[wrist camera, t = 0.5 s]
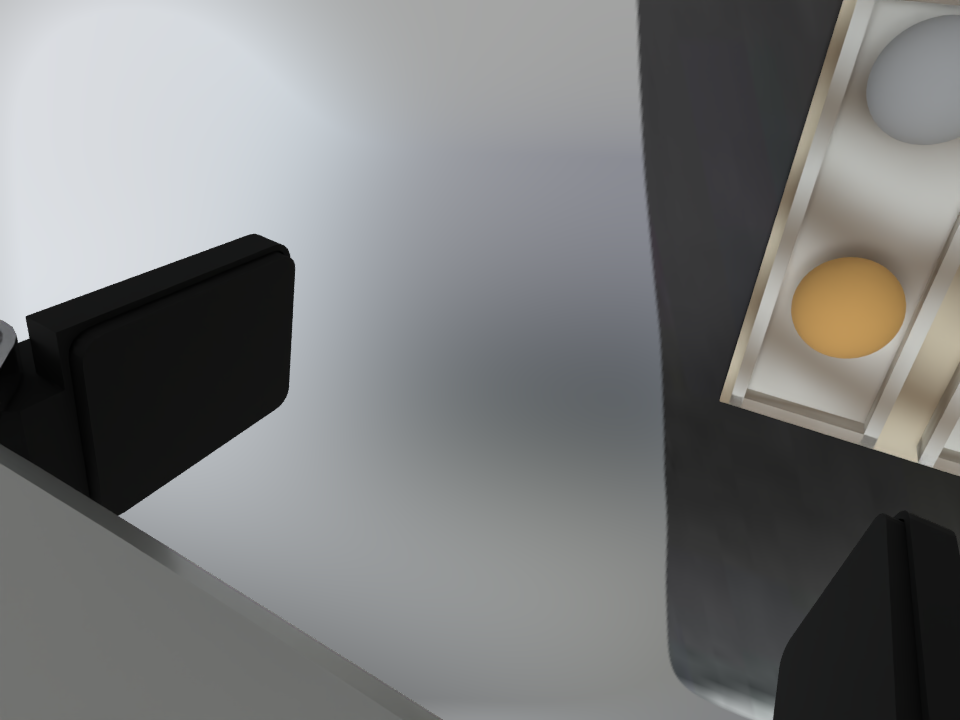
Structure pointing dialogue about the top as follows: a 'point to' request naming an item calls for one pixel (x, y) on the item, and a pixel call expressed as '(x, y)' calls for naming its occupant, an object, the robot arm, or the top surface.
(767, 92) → the top surface
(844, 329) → the orange ball
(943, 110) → the grey ball
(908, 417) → the trough board
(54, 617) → the robot arm
